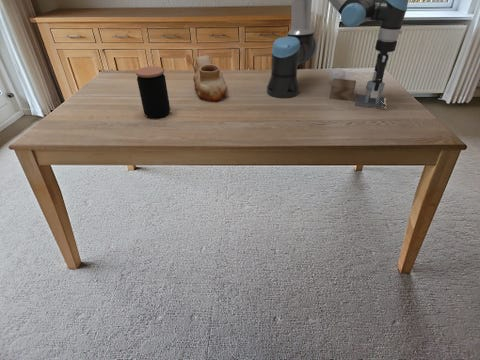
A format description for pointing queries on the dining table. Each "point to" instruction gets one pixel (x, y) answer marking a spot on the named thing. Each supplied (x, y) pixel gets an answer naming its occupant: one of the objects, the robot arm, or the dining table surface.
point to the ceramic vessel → (208, 80)
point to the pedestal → (342, 89)
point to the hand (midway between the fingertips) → (373, 91)
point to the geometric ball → (337, 74)
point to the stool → (369, 88)
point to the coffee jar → (153, 92)
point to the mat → (369, 101)
